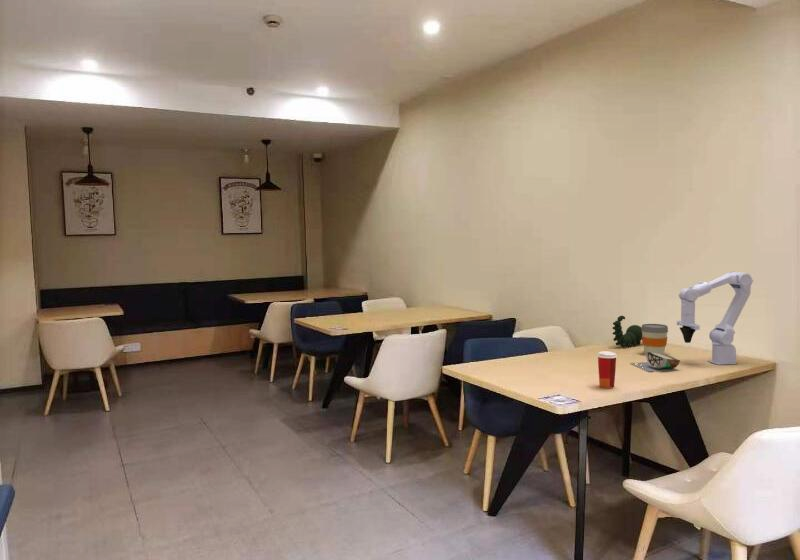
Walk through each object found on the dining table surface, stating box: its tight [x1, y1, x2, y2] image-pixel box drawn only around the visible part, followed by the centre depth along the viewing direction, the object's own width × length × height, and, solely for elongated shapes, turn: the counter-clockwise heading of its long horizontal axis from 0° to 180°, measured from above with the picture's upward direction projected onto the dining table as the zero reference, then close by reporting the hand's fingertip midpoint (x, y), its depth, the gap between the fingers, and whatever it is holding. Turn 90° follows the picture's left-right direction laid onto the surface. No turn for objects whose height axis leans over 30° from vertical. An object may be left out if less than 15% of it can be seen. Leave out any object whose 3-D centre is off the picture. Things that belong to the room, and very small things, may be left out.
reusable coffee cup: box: [641, 323, 669, 355], centre depth 285 cm, size 13×13×15 cm
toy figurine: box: [612, 315, 642, 348], centre depth 308 cm, size 9×19×25 cm
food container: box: [645, 351, 681, 369], centre depth 256 cm, size 12×6×10 cm
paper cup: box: [596, 350, 618, 389], centre depth 229 cm, size 8×8×14 cm
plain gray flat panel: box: [630, 361, 677, 373], centre depth 260 cm, size 13×17×1 cm
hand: (687, 342), depth 263 cm, fingers closed
